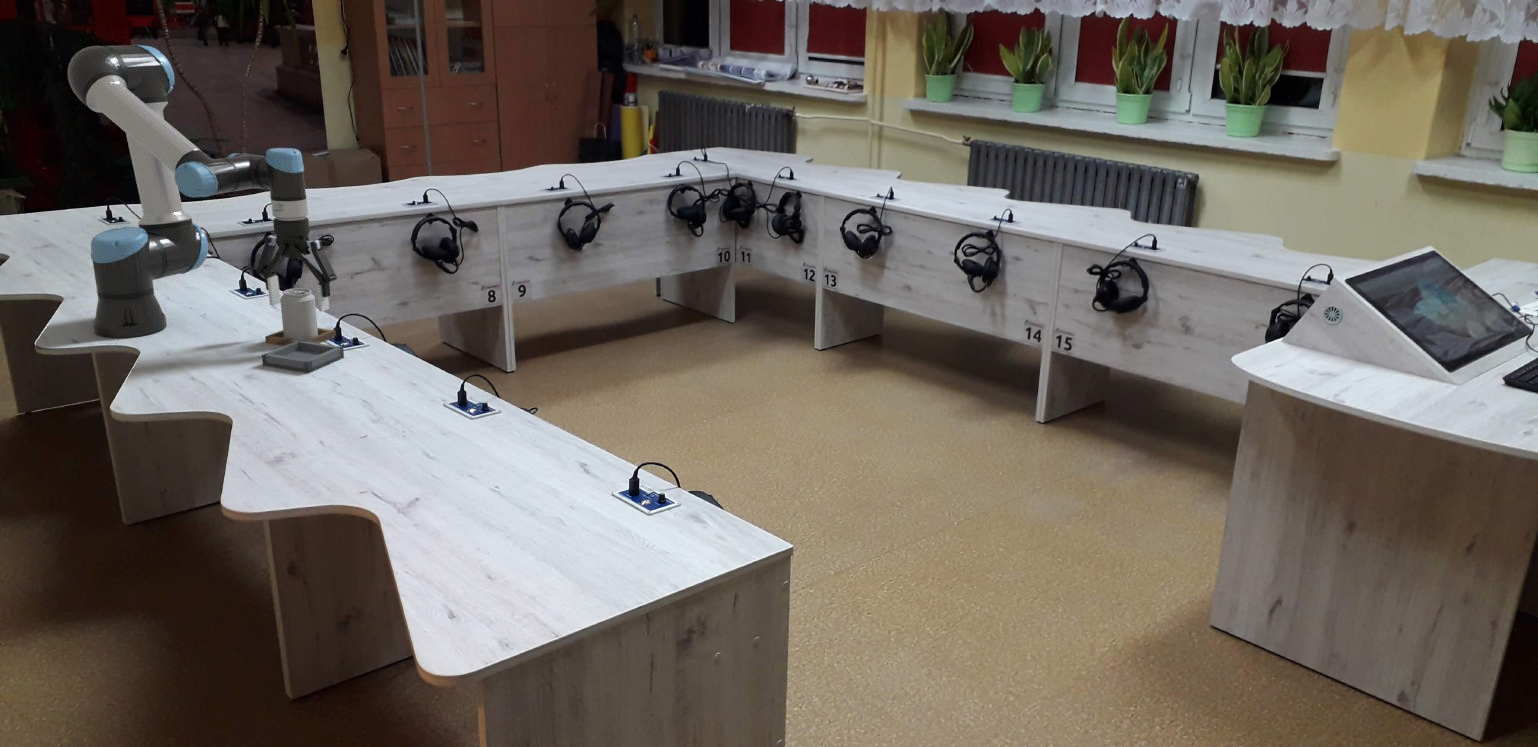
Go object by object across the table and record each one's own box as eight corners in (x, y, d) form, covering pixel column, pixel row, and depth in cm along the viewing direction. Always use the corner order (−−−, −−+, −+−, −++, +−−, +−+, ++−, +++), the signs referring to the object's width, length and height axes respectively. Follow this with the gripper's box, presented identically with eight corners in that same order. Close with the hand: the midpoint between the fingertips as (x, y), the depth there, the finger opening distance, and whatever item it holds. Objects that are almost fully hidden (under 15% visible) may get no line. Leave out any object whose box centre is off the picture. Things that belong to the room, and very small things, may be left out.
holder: (265, 342, 261) (265, 336, 260) (297, 330, 271) (296, 324, 270) (305, 349, 258) (305, 342, 258) (336, 336, 268) (335, 330, 268)
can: (306, 345, 260) (302, 296, 257) (277, 342, 262) (272, 293, 258) (324, 337, 267) (320, 288, 264) (296, 333, 269) (292, 285, 265)
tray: (262, 365, 246) (261, 354, 245) (299, 350, 257) (298, 340, 256) (309, 373, 243) (308, 362, 242) (344, 357, 254) (343, 347, 253)
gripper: (233, 215, 255) (244, 305, 262) (326, 225, 248) (334, 316, 255) (256, 210, 262) (266, 297, 268) (347, 219, 255) (355, 308, 262)
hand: (299, 307), depth 262 cm, fingers open, 13 cm apart
